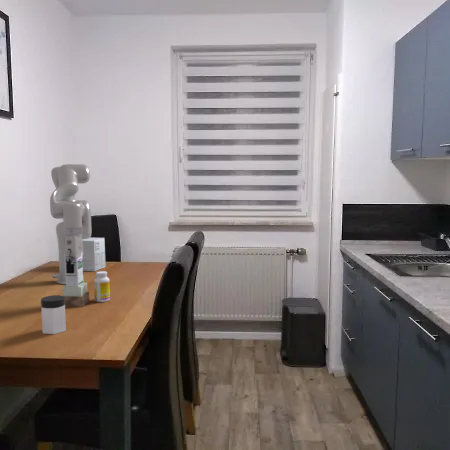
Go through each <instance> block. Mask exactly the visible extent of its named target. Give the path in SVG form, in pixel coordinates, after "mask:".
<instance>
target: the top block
mask: <svg viewBox="0 0 450 450" xmlns="http://www.w3.org/2000/svg"><path fill="white" fill-rule="evenodd" d="M86 292H88V282H84V284H82V285H80V286H79V287H67V286H66V284H64V285H63V286H62V296H83V295H84V294H85V293H86Z"/></svg>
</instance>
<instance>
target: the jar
mask: <svg viewBox="0 0 450 450" xmlns="http://www.w3.org/2000/svg"><path fill="white" fill-rule="evenodd" d="M40 306H41V325H42V326H41V327H42V328H41V329H42V330H41V331H42V334H45V335H47V334H48V335H57V334H60V333H64V332H66V330H67V329H66V327H67V326H66V306H65V297H64V296H63V295H58V294H57V295H56V294H55V295H54V294H53V295H48V296H44V297H42V298H41V299H40Z"/></svg>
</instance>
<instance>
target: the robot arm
mask: <svg viewBox="0 0 450 450" xmlns="http://www.w3.org/2000/svg"><path fill="white" fill-rule="evenodd" d="M50 173H51V174H50V176H51V180H52V183H53V185H54V187H55V189H54V190H53V192H52V193H51V195H50V198H49V210H50V212H49V213H50V215H51V217H52V218H53V219H62V221H61V222H59V223H57V224H56V227H55V234H56V239H57V247H58V248H57V249H58V262H59V263H58V267H59V268H58V269H59V273H52V275H51V277H52V278H53V279H56V283H57V284H60V285H66V275H65V261H64V254H65V258H66V273H74V264H73V262H74V258H75V259H77V258H79V257H81V253H82V256H83V241H82V239H88V238H92V231H93V229H92V212H91V204H90V203H89V201H88V200H83V199H80V200H79V199H77V200H76V194H77V193H78V192H79V184H81V185H82V184H86V183H88V182H89V181H90V177H91V172H90V169H89V167H88V165H86V164H83V163H81V164H79V163H78V164H77V163H75V164H74V163H72V164H70V163H69V164H68V163H67V164H62V165H60V166H55V167H53V168H52V169H51V171H50ZM71 259H72V260H71Z"/></svg>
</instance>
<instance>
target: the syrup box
mask: <svg viewBox="0 0 450 450" xmlns="http://www.w3.org/2000/svg"><path fill="white" fill-rule="evenodd" d="M71 260H72V259H71ZM64 261H65V275H66V284H65V285H66V286H67V287H79V286H80V285H82V284H84V283H85V275H84V272H85V271H83V257H82V253H81V257H79V258H77V259H75V258H74V262H73V264H74V273H66V258H65V254H64Z"/></svg>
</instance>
